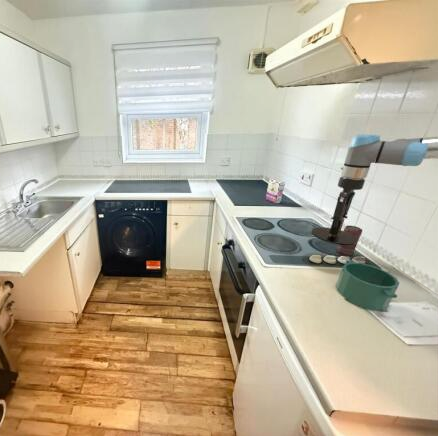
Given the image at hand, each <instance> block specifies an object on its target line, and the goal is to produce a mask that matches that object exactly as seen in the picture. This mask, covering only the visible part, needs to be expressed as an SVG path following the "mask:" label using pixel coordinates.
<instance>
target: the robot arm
mask: <svg viewBox="0 0 438 436" xmlns="http://www.w3.org/2000/svg"><path fill="white" fill-rule="evenodd" d="M436 159H438V135H437V136H426V137H416V138H415V137H414V138H398V139H395V140H392V141H385V140H381V135H379V134H368V133H367V134H365V133H363V134H362V133H361V134H355V135H353V137H352V138H351V141H350V144H349V147H348V149H347V153H346V156H345V159H344V163H343V166H342V167H340V170H341V173H340V177H339V179H338V182H337V187H338V188H341V189H342V191H340V193H339V194H338V197H337V201H336V205H335V208H334V212H333V214H332V215H333V216H332V217H331V218H330V219H331V220H332V223H331V226H330V228H331V229H330V232H329V234H332V235H335V236H337V235H338V232H339V233H340V231H342V228H343V226H344V223H345V219H348V217H349V216H348V213H349V210H350V208H351V205H352V202H353V200H354V197H355V195H356V191H361V190H362V189H363V187H364V185H365V183H366V178H367V177H368V174H369V171H370V169H371V164H383V165H392V166H403V167H419V166H420V165H421V164H422V162H423V161H424V160H436ZM342 217H343V218H344V219H343V222H342ZM341 223H342V225H341ZM340 226H341V228H340ZM339 229H340V231H339Z"/></svg>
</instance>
